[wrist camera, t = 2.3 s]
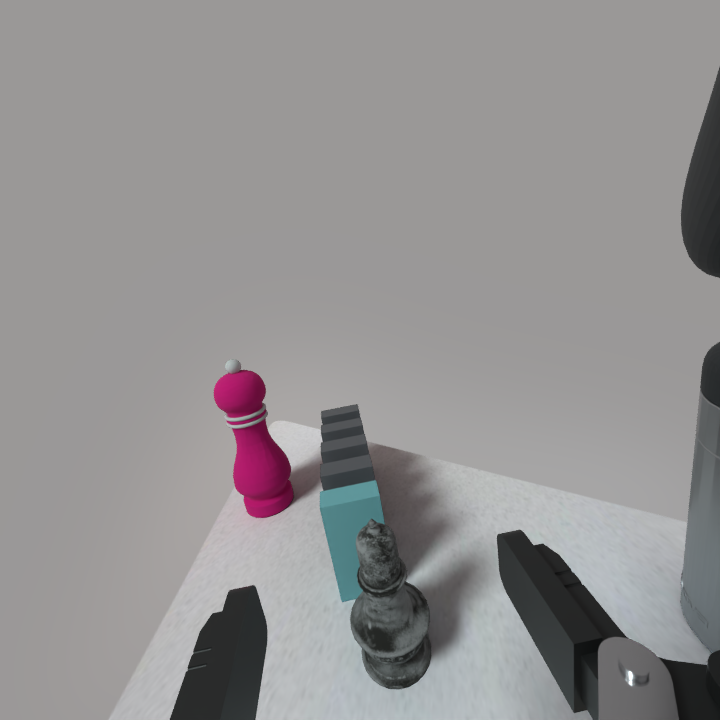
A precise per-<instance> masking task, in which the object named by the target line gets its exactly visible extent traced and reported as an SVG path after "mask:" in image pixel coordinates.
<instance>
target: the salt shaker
mask: <svg viewBox="0 0 720 720" xmlns="http://www.w3.org/2000/svg"><path fill="white" fill-rule="evenodd" d="M356 550H357V554H358V559H359V564H360V567H359V569H358V572H357V581H358V584H359V586H360V588H361V589H362V590H363V591H362V593H361V594H360V595H359V596H358V598H357V599H356V601H355V603H354V605H353V607H352V611H351V617H350V621H351V630H352V632H353V635H354V638H355V640H356V641H357V642H358V644H359V645H360V646H361V647H362V658H363V663H364V666H365V669H366V671H367V673H368V674H369V675H370V677H371V678H372V679H373V680H374V681H375V682H376V683H378V684H379V685H381V686H383V687H386V688H388V689H402V688H406V687H409V686H411V685H413V684H414V683H416V682H417V681H418V680H419V679H420V678H421V677H422V676H423V675H424V674H425V672H426V670H427V668H428V666H429V662H430V658H431V645H430V641H429V638H428V635H427V630H428V626H429V622H430V615H429V608H428V604H427V601H426V599H425V598H424V596H423V595H422V593H421V592H420V591H419V590H418V589H417V588H416V587H415V586H413V585H411V584H409V583H407V582H405V580H406V577H407V570H406V567H405V564H404V562H403V561H402V560H401V559H400V558H399V555H398V550H397V544H396V539H395V535H394V533H393V531H392V530H391V529H390V528H389V527H388V526H386V525H385V524H382V523H377V522H376V521H375V520H373V519H370V520H369V522H368V523H367V525H366V526H364V527H363V528H362V529H361V530H360V531H359V533H358V535H357V537H356Z"/></svg>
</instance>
